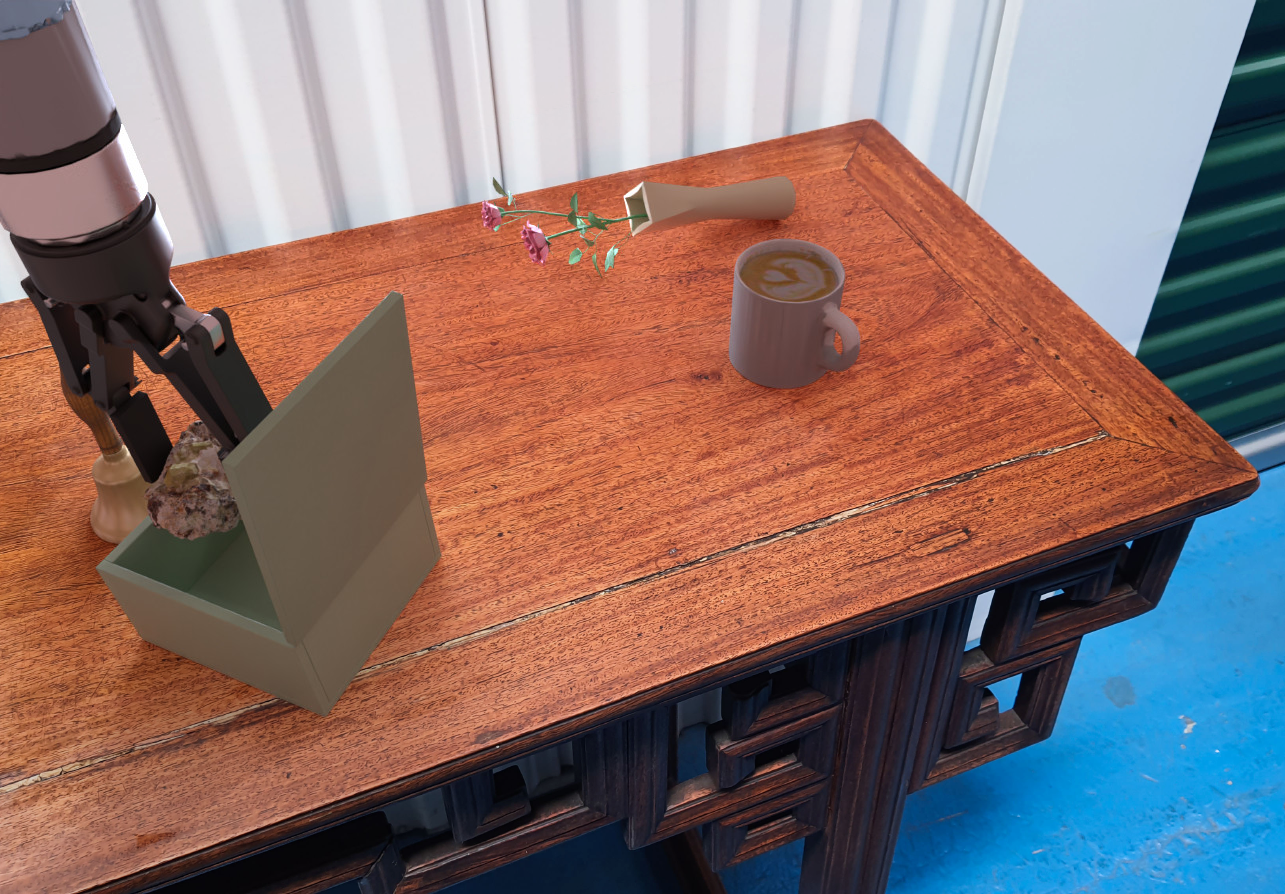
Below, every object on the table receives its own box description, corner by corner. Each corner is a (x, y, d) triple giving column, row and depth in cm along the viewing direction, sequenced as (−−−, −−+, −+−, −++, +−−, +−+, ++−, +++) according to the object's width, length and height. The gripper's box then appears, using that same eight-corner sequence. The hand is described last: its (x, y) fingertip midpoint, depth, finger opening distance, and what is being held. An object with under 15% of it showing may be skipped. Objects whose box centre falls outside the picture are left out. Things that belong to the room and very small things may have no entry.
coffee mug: (708, 342, 98) (713, 258, 91) (790, 311, 101) (801, 227, 94) (789, 424, 90) (801, 339, 83) (875, 387, 93) (894, 301, 86)
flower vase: (774, 289, 116) (497, 326, 99) (728, 212, 121) (457, 236, 104) (821, 217, 107) (524, 245, 90) (769, 137, 112) (479, 149, 95)
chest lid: (220, 461, 50) (233, 467, 50) (392, 289, 60) (403, 293, 60) (286, 642, 63) (296, 647, 63) (418, 476, 73) (428, 479, 73)
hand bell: (144, 459, 87) (68, 315, 76) (216, 489, 85) (149, 345, 73) (69, 524, 82) (-26, 380, 71) (143, 559, 79) (58, 415, 68)
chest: (141, 639, 74) (94, 567, 68) (273, 495, 84) (243, 421, 78) (325, 718, 70) (293, 648, 63) (442, 556, 80) (424, 482, 73)
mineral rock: (264, 512, 66) (129, 510, 63) (263, 556, 69) (134, 556, 66) (270, 407, 73) (150, 402, 71) (269, 451, 76) (153, 447, 73)
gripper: (280, 215, 53) (367, 494, 70) (-7, 140, 59) (134, 414, 76) (184, 293, 49) (301, 574, 65) (-118, 203, 55) (59, 481, 71)
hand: (211, 488), depth 70 cm, fingers closed on mineral rock, 8 cm apart
